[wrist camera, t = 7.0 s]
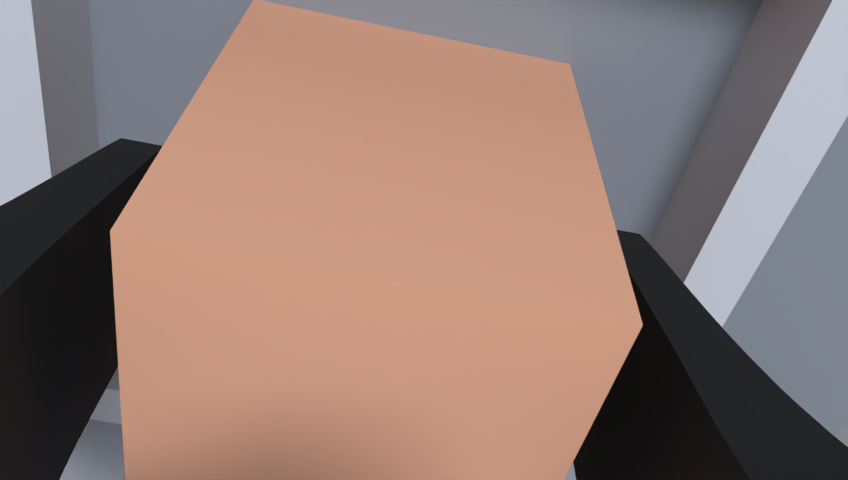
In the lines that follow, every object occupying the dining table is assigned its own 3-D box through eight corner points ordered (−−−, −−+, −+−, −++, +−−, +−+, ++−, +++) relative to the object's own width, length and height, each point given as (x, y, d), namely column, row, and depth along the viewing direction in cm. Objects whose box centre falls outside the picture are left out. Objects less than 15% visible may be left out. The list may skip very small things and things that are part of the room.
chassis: (1251, -185, 11) (1636, -113, 7) (768, 458, 20) (835, 632, 16) (-432, -609, 9) (-1019, -793, 5) (-130, 314, 18) (-277, 475, 14)
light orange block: (570, 64, 12) (643, 324, 7) (491, 297, 15) (506, 591, 10) (253, -1, 12) (110, 231, 7) (237, 252, 15) (128, 538, 10)
